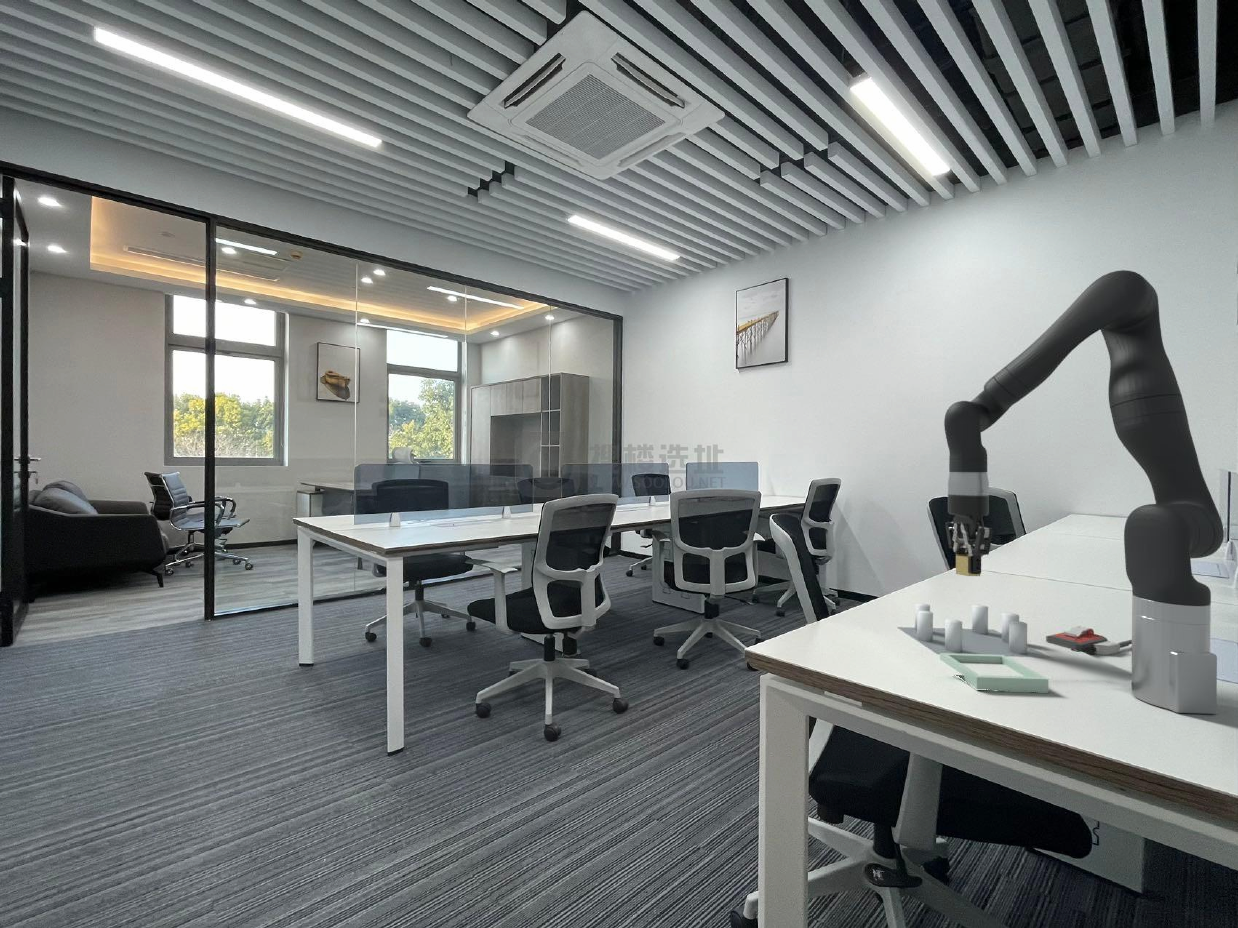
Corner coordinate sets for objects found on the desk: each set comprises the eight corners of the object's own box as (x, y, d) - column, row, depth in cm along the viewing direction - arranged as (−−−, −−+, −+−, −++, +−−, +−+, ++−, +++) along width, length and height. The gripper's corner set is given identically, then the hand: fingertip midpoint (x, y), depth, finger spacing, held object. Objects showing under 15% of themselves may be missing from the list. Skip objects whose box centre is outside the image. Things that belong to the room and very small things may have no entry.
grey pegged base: (1050, 663, 108) (1050, 627, 108) (937, 659, 109) (937, 624, 109) (993, 634, 126) (993, 603, 126) (896, 632, 127) (897, 601, 127)
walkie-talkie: (1088, 662, 109) (1139, 649, 117) (1088, 640, 109) (1139, 629, 117) (1040, 649, 117) (1090, 637, 125) (1040, 628, 117) (1090, 618, 125)
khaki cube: (986, 576, 115) (986, 557, 115) (961, 575, 115) (961, 557, 115) (974, 572, 119) (974, 554, 119) (950, 571, 119) (950, 553, 119)
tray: (1048, 693, 93) (1048, 679, 93) (976, 690, 94) (976, 677, 94) (1003, 667, 105) (1003, 654, 105) (940, 665, 106) (940, 653, 106)
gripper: (1007, 494, 110) (1007, 578, 110) (966, 491, 124) (966, 566, 124) (969, 494, 110) (969, 578, 110) (933, 491, 125) (932, 565, 124)
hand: (967, 571), depth 117 cm, fingers closed on khaki cube, 4 cm apart
